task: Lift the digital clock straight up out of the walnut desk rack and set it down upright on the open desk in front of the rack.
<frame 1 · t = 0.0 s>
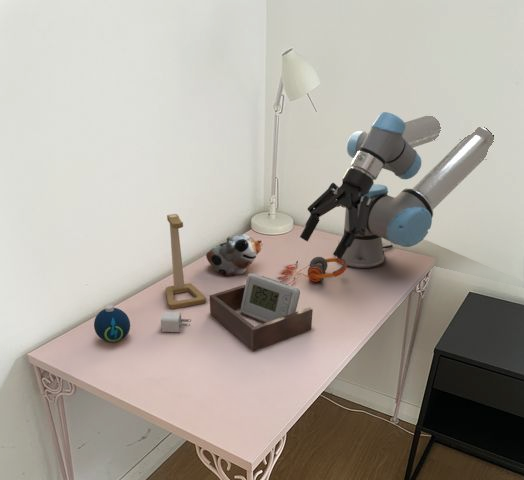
hand: (319, 247, 141), 15 cm above the table, tool tilted 35°, fingers open, 13 cm apart
digital clock: (268, 319, 141), on the table
headphone stand: (183, 298, 150), on the table
christmas ornament: (114, 340, 132), on the table
headphones: (312, 277, 161), on the table
walnut rack: (268, 319, 141), on the table
usb wall charger: (177, 329, 136), on the table
spotted toy animal: (235, 268, 166), on the table
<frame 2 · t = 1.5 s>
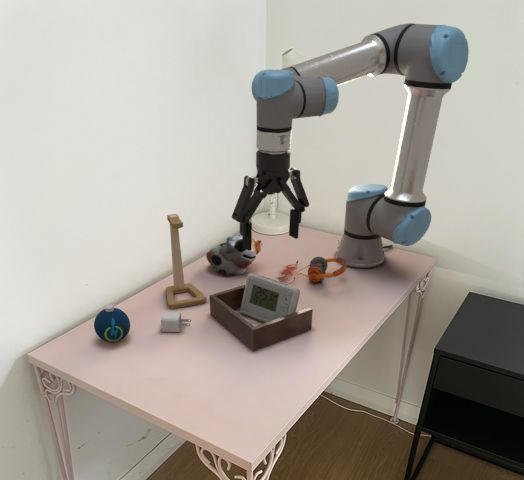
hand: (270, 242, 129), 21 cm above the table, tool pointing down, fingers open, 13 cm apart
nothing on the table moved.
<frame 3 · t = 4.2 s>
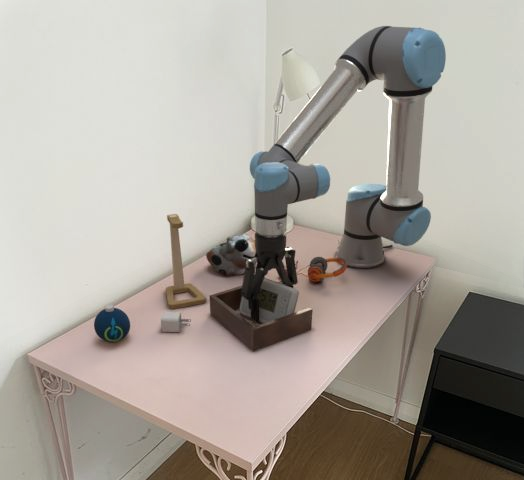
hand: (269, 314, 140), 1 cm above the table, tool pointing down, fingers closed on digital clock, 8 cm apart
digital clock: (267, 320, 140), on the table, touching gripper
everything else where it was.
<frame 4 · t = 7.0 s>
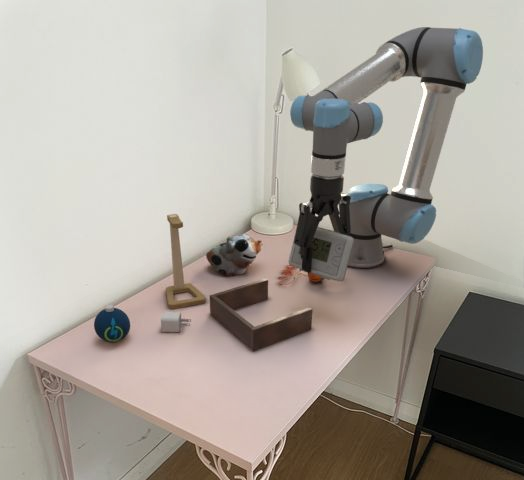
hand: (320, 266, 135), 14 cm above the table, tool pointing down, fingers closed on digital clock, 8 cm apart
digital clock: (318, 272, 135), point 13 cm above the table, touching gripper
everything else where it was.
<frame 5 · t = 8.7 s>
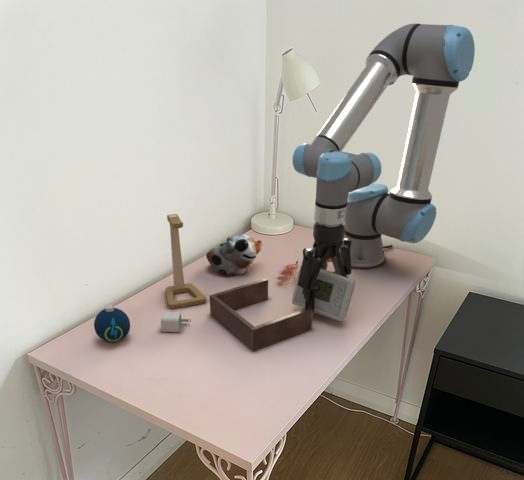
hand: (322, 305, 141), 3 cm above the table, tool pointing down, fingers closed on digital clock, 8 cm apart
digital clock: (320, 311, 141), point 2 cm above the table, touching gripper
everything else where it was.
when the fingers open (1 cm above the table, at t = 9.7 s): digital clock stays where it is, on the table.
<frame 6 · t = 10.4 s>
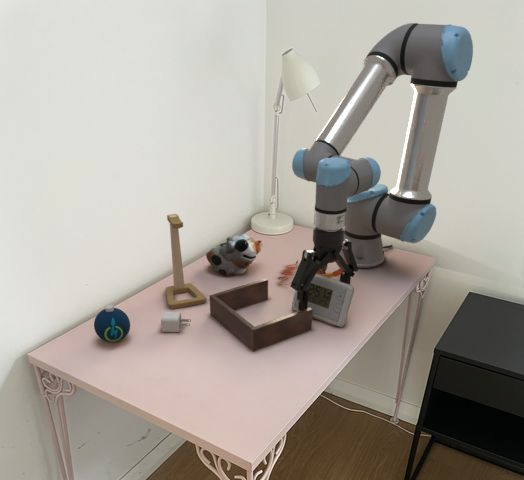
hand: (323, 304, 141), 3 cm above the table, tool pointing down, fingers open, 13 cm apart
digital clock: (320, 316, 142), on the table
everything else where it was.
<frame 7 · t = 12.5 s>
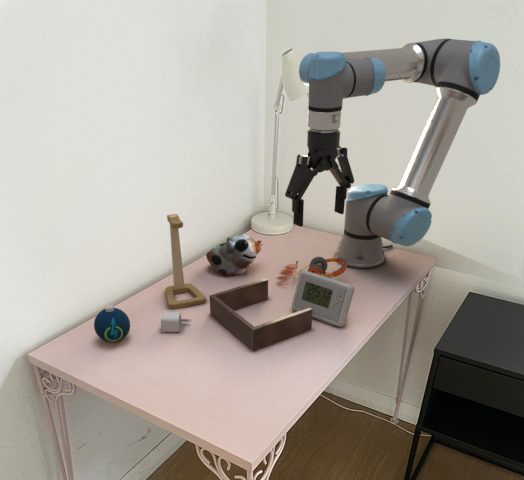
hand: (319, 218, 135), 24 cm above the table, tool pointing down, fingers open, 13 cm apart
nothing on the table moved.
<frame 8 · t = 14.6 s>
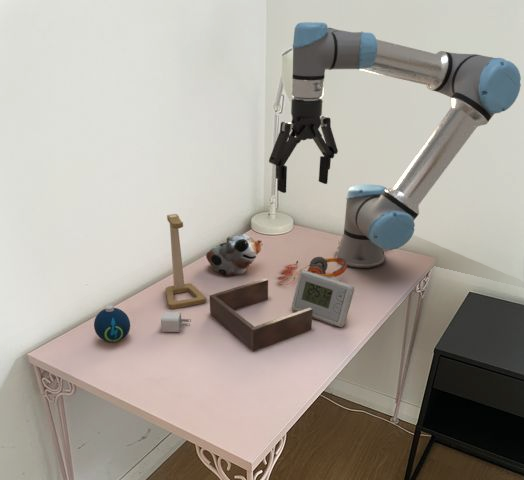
hand: (302, 187, 141), 29 cm above the table, tool pointing down, fingers open, 13 cm apart
nothing on the table moved.
at the end: digital clock inside the target area (0.7 cm from its centre), on the table; digital clock tilted 0°; the gripper is holding nothing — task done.
